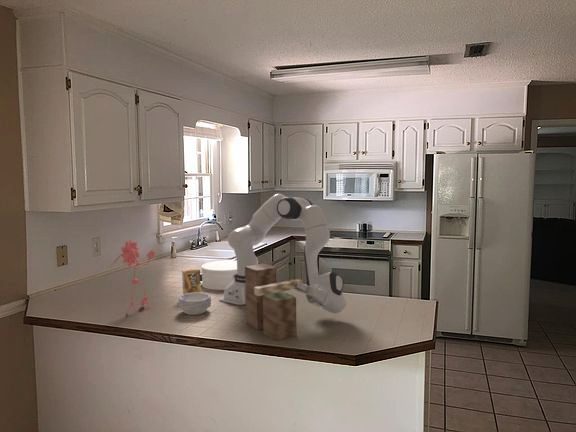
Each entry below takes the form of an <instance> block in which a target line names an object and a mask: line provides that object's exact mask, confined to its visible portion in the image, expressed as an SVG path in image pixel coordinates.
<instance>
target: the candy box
mask: <svg viewBox="0 0 576 432" xmlns="http://www.w3.org/2000/svg"><path fill="white" fill-rule="evenodd" d="M181 274H182V276H181V278H182V280H181V281H182V295H183V294H187V293H196V292H199V293H202V288H201V287H202V283H201V282H202V278H201V269H199V268H193V269H184V270H182V271H181Z"/></svg>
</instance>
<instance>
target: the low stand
mask: <svg viewBox="0 0 576 432" xmlns="http://www.w3.org/2000/svg"><path fill="white" fill-rule="evenodd" d="M297 330H298V329H297V297H295V296H294V294H293V295H292V294H289V293H288V292H286V291H282V292H277V293H272V294H267V295H264V296H263V334H264V335H266V336H267V337H269V338H271V339H273V340H275V341H280V340H283V339H288V338H292V337H296V336H297V332H298V331H297Z"/></svg>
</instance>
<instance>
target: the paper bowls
mask: <svg viewBox="0 0 576 432" xmlns="http://www.w3.org/2000/svg"><path fill="white" fill-rule="evenodd" d="M211 304H212V296H211V294H209V293H206V292H201V293H199V292H196V293H187V294H183V293H182V294H181V295H180V296H178V307H179V309H180V310H183V313H185V314H186V315H191V316H197V315H203V314H204V313H206V312H207V310H208V309H209V308H211V306H212V305H211Z"/></svg>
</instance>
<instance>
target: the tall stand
mask: <svg viewBox="0 0 576 432" xmlns="http://www.w3.org/2000/svg"><path fill="white" fill-rule="evenodd" d="M274 283H277V267H276V266H273V265H270V264H267V263H260V264H259V263H258V265H251V266H245V292H246V304H245V316H246V317H245V323H246V325H248V326H250V327H252V328H254V330H257V331H259V330H262V329H263V296H264V295H261V296H257V295H254V287H258V286H263V285H269V284H274Z"/></svg>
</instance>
